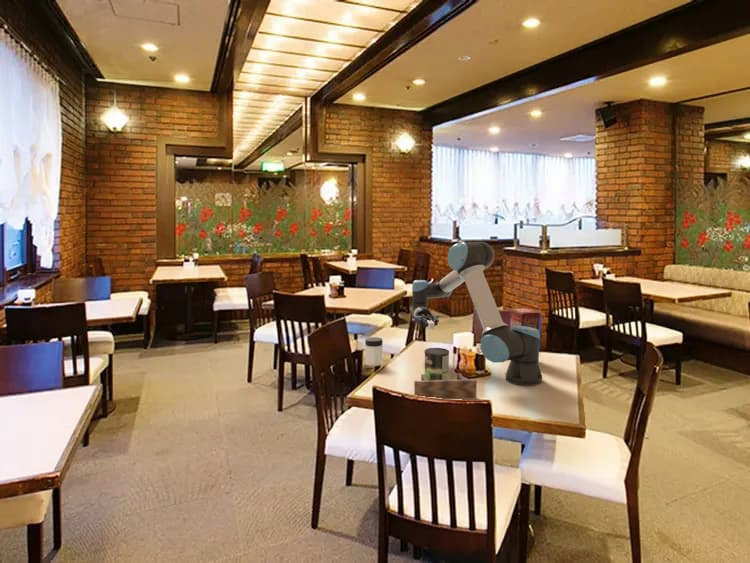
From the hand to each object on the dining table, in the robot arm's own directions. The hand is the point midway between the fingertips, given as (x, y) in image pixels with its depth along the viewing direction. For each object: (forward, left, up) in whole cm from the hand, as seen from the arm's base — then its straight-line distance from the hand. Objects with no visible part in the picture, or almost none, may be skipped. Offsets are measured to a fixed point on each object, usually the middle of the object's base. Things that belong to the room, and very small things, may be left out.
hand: (432, 326), depth 231 cm
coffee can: (0, +11, -22) cm, 25 cm away
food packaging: (-48, -18, -22) cm, 56 cm away
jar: (+24, -20, -22) cm, 38 cm away
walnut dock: (0, +25, -22) cm, 33 cm away
